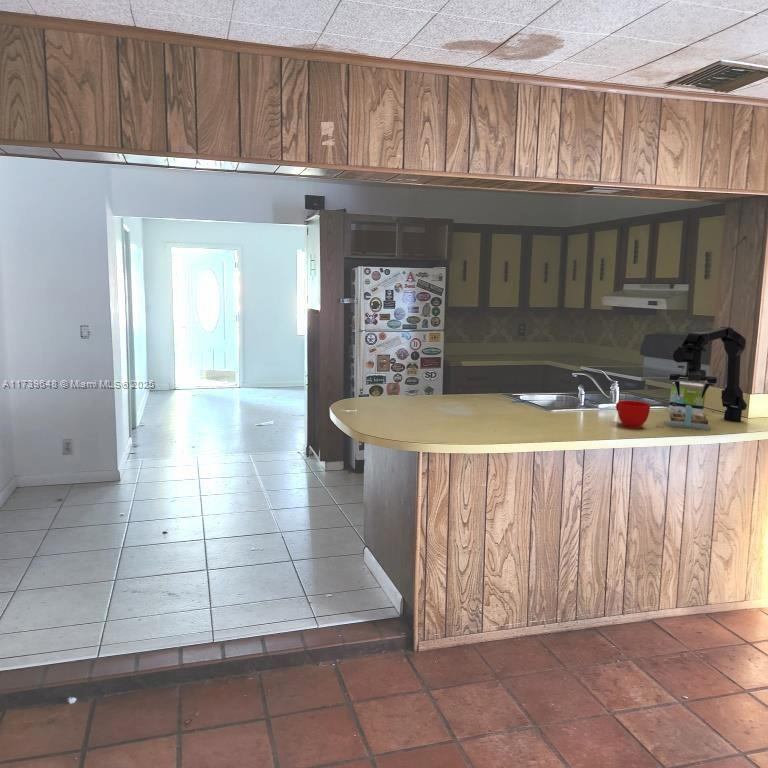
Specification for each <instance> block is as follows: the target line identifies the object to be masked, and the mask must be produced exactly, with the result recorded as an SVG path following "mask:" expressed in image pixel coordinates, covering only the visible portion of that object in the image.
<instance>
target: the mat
mask: <svg viewBox="0 0 768 768" xmlns="http://www.w3.org/2000/svg"><path fill="white" fill-rule="evenodd" d="M663 422H664V426H667V428H670V427H674V428H677V429H680V428H686V430H689V429H695V430H696V431H699V430H705V431H704V432H706V431H707V432H708V431H711V430H712V428H711V427H710V425H709V424H698V423H691V425H690V427H688V426H685V424H684V422H679V421H671V420H663Z"/></svg>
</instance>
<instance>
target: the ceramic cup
mask: <svg viewBox="0 0 768 768" xmlns="http://www.w3.org/2000/svg"><path fill="white" fill-rule="evenodd" d="M615 409H616V411H617V415H618V419H619V420H620V422H621V424H622V425H623V426H624V427H627V428H631V429H640V428H641V427H642V426H643V425H644V424H645V423H646V422H647V419H648V418H649V414H650V410H651V405H650V404H649V403H646V402H643V401H639V400H638V401H635V400H619V401H618V402H617V403H616V405H615ZM639 427H640V428H639Z"/></svg>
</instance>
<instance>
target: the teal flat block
mask: <svg viewBox="0 0 768 768" xmlns="http://www.w3.org/2000/svg"><path fill="white" fill-rule="evenodd" d="M684 414H685V419H684V424H685V426H688V427H690V425H691V417H692V415H693V414H692V407H691V406H688V405H686V410H685V413H684Z"/></svg>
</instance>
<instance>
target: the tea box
mask: <svg viewBox="0 0 768 768" xmlns="http://www.w3.org/2000/svg"><path fill="white" fill-rule="evenodd" d="M679 381H680V396H678V393H677V388H676V385H675V382H671V388H670V396H669V403H668V412H669V413H678V414H685V410H686V405H688V406H691V407H692V415H694V413H701V414H703V413H704V407H705V402H706V393H707V391H706V392H705V394H704V396H703V398H701V394H702V390H703V385H704V383H700V382H699V383H697V382H692V381H691V382H690V381H681V380H679Z"/></svg>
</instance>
